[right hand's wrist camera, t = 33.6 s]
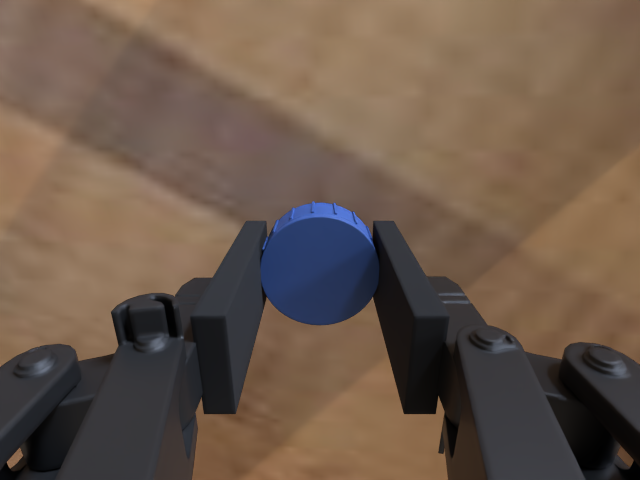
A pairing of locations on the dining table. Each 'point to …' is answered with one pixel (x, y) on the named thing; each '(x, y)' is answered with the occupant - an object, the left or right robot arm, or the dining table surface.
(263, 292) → the right robot arm
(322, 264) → the cap
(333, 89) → the dining table surface
